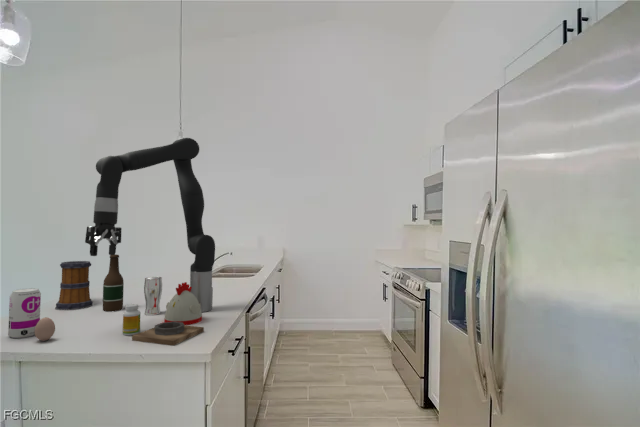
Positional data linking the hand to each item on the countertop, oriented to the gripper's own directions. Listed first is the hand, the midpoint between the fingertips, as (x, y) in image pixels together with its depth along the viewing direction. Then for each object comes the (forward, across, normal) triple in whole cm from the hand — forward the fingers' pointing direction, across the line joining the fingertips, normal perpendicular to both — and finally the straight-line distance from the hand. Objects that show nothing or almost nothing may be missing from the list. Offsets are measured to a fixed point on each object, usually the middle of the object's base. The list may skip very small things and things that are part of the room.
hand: (103, 255), depth 133 cm
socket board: (+26, -1, -29) cm, 39 cm away
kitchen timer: (+26, +17, -23) cm, 39 cm away
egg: (+27, -15, +6) cm, 32 cm away
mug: (+26, +29, +38) cm, 55 cm away
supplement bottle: (+26, -2, -15) cm, 30 cm away
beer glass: (+26, +24, -5) cm, 35 cm away
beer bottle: (+26, +26, +16) cm, 40 cm away
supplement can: (+27, -12, +18) cm, 35 cm away
